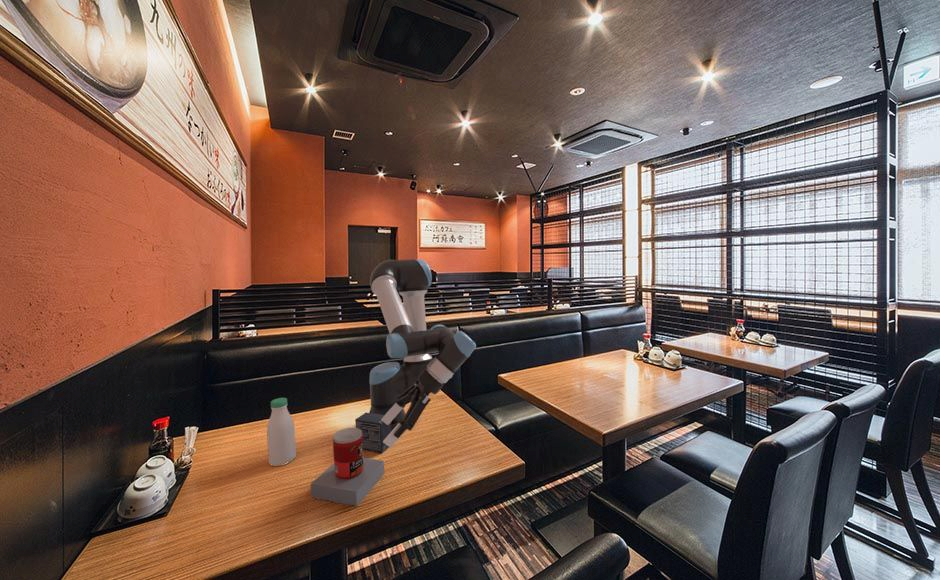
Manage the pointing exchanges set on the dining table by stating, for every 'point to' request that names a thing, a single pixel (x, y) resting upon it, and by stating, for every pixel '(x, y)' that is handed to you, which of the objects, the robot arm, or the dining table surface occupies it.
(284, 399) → the milk bottle
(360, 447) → the canned food
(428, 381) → the robot arm
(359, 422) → the small box
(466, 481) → the dining table surface
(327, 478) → the slate stand
